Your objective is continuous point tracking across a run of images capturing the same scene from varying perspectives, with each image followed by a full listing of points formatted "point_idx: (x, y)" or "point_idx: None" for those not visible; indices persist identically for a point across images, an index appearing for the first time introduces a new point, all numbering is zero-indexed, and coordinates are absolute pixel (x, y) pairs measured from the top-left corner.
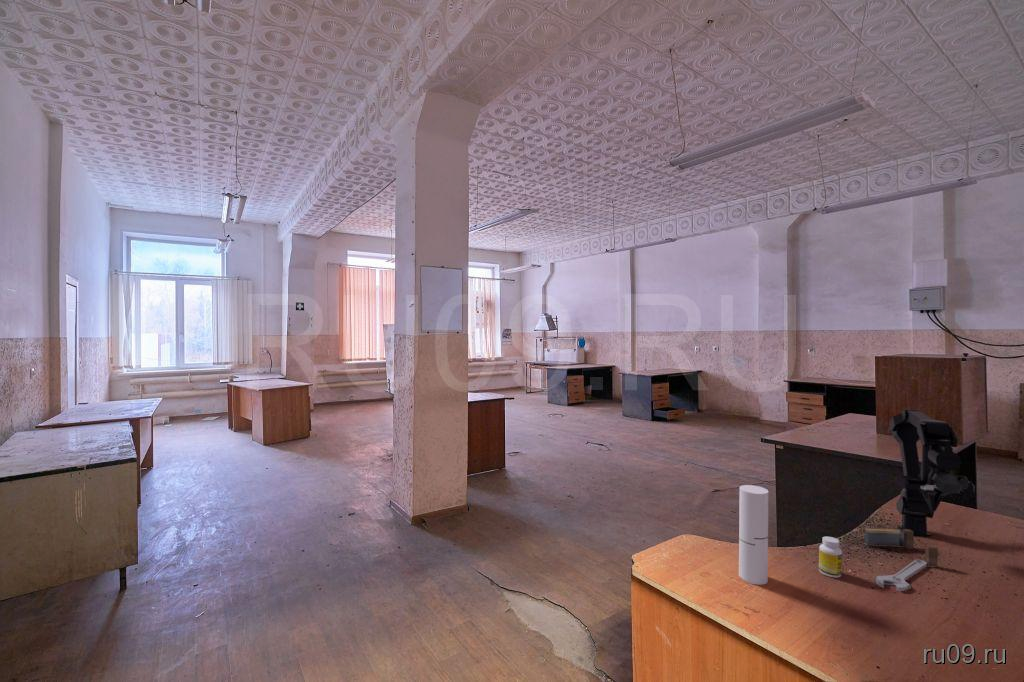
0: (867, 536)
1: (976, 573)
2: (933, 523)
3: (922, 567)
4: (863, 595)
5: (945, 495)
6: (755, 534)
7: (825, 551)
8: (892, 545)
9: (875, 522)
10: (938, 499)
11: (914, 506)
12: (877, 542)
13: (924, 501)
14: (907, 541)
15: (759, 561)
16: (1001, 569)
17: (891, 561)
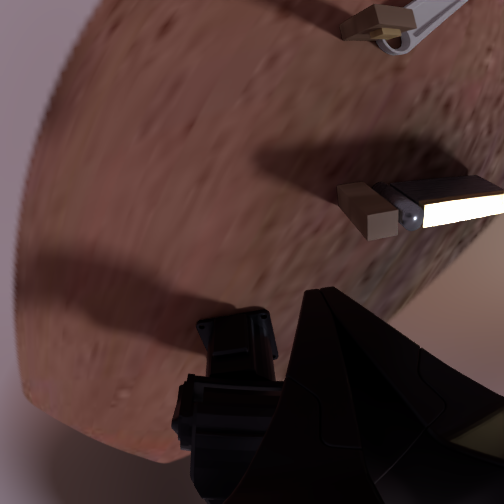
0: (496, 186)
1: (206, 2)
2: (153, 392)
3: (406, 6)
4: None
5: (234, 501)
6: None
7: None
8: (412, 181)
9: None
10: (338, 401)
11: (276, 407)
12: (460, 180)
13: (235, 436)
14: (371, 192)
15: None
16: (86, 82)
17: (462, 67)
